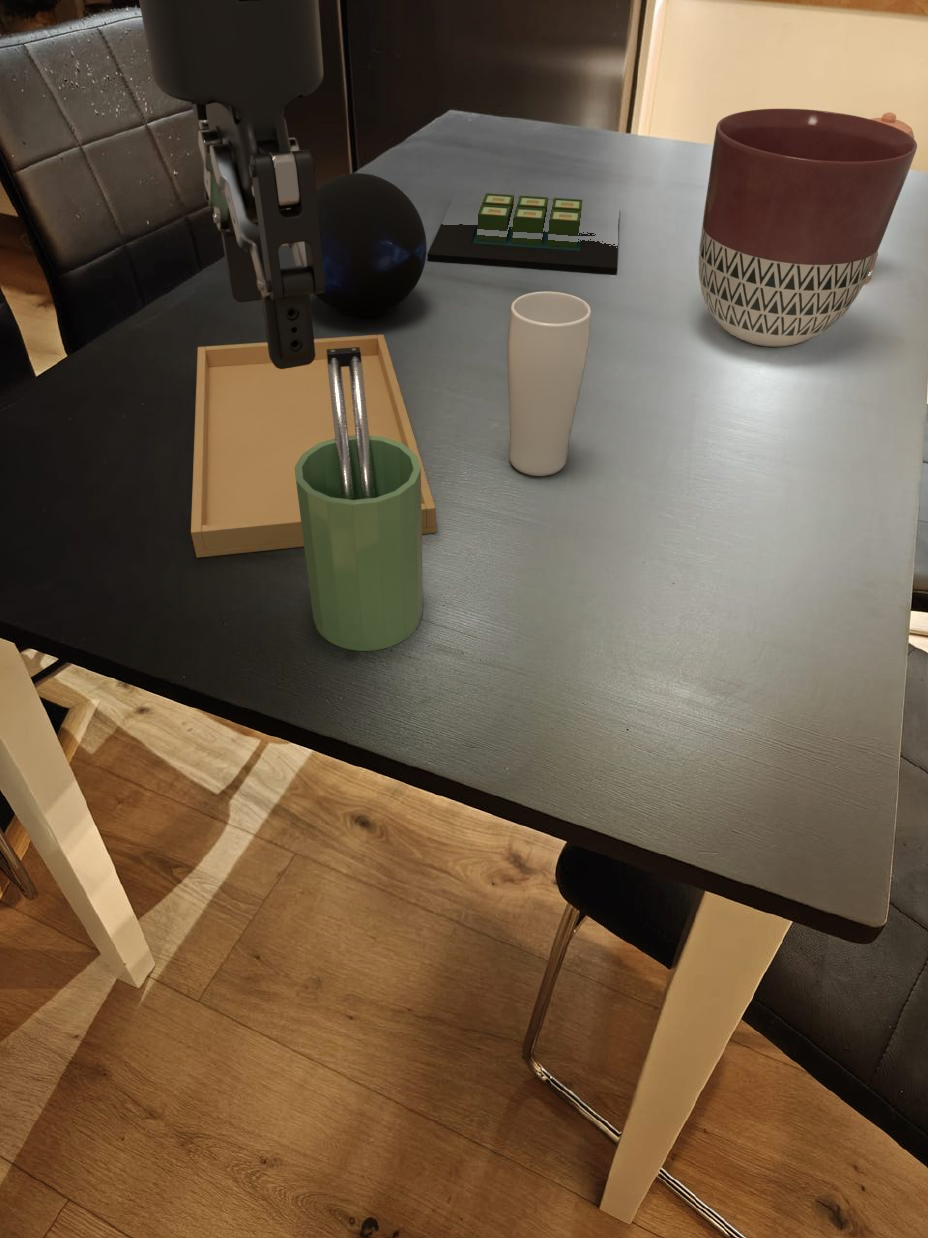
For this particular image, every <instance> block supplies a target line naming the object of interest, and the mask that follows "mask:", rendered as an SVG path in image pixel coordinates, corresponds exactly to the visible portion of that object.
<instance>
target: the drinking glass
mask: <svg viewBox="0 0 928 1238" xmlns="http://www.w3.org/2000/svg"><path fill="white" fill-rule="evenodd" d="M509 311H510V313H509V321H508V330H507V331H508V332H507V382H508V383H507V385H508V387H507V388H508V412H509V413H508V414H509V415H508V417H509V452H508V457H509V462H510V464H511V465H512V467H513V468H514V469H516V470H517V471H518V472H520V473H522V474H524V475H528V476H532V477H546V476H551V475H554V474H557V473H558V472H560V471H561V470H562V469H563V468H564V467H565V465H566V463H567V459H568V451H569V444H570V439H571V434H572V430H573V424H574V418H575V415H576V410H577V405H578V402H579V401H578V400H579V396H580V391H581V388H582V387H581V386H582V382H583V376H584V373H585V369H586V362H587V356H588V349H589V342H590V331H591V321H592V320H591V318H592V308H591V307H590V304H589V303H587V302H586V301H585V300H583V299H582V298H580V297H578V296H576V295H572V294H569V293H566V292H565V293H564V292H559V291H533V292H529V293H525V294H523V295H521V296H519V297H517V298H515V299H514V300H513V302H512V303H511V305H510V310H509Z"/></svg>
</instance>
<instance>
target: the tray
mask: <svg viewBox="0 0 928 1238" xmlns="http://www.w3.org/2000/svg"><path fill="white" fill-rule="evenodd" d="M314 346H315V359H314V361H313V362H312V363H310V364H308V365H304V366H298V367H292V368H286V369H278V368H276V367H275V366H274V364H273V363H272V361H271V359H270V357H269V351H268V343H267V341H265V342H252V343H236V344H224V345H223V344H222V345H209V346H208V345H207V346H198V347H197V359H196V384H195V385H196V386H195V388H196V389H195V411H194V412H195V413H194V439H193V465H192V467H193V469H192V491H191V493H192V494H191V518H190V519H191V520H190V522H191V523H190V535H191V540H192V542H193V548H194V552H195V557H196V558H207V557H216V556H217V557H218V556H227V555H236V554H237V555H238V554H246V553H257V552H267V551H275V550H283V549H284V550H285V549H293V548H304V541H303V533H302V525H301V517H300V509H299V501H298V493H297V485H296V477H295V465H296V464H297V462H298V460H299V459H300V457H301V456H302V454H303V453H304V452H306V451H308V450H309V449H311V448H312V447H314V446H315V445H317V444H319V443H321V442H324V441H327V440H331V439H334V438H335V431H334V422H333V412H332V403H331V394H330V385H329V375H328V366H327V349H339V348H353V347H359V348H360V352H361V359H362V369H363V379H364V390H365V400H366V410H367V421H368V431H369V435H370V436H378V437H385V438H388V439H391V440H393V441H396V442H399V443H401V444H404V445H405V446H406V447H408V448H409V449H410V450H411V451H412V452H413V453H414V454H416V455H417V457H418V461H419V464H420V467H421V510H422V535H429V534H436V532H437V531H436V529H437V528H436V526H437V525H436V523H437V521H436V518H437V517H436V514H437V512H436V505H435V501H434V499H433V495H432V492H431V489H430V484H429V482H428V479H427V475H426V472H425V468H424V464H423V462H422V457H421V455H420V451H419V448H418V444H417V442H416V438H415V435H414V431H413V428H412V425H411V421H410V418H409V415H408V411H407V408H406V404H405V401H404V398H403V395H402V390H401V388H400V385H399V381H398V378H397V374H396V371H395V368H394V364H393V362H392V358H391V355H390V351H389V348H388V345H387V341H386V338H385V334H370V335H368V334H367V335H354V336H352V335H351V336H340V337H339V336H338V337H327V338H325V337H324V338H323V337H322V338H314ZM341 370H342V379H343V389H344V399H345V408H346V418H347V428H348V436H353V435H356V434H355V424H354V414H353V404H352V394H351V384H350V374H349V366H347V367H341Z"/></svg>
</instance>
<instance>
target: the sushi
mask: <svg viewBox="0 0 928 1238" xmlns="http://www.w3.org/2000/svg"><path fill="white" fill-rule="evenodd" d="M484 195H485V197H484V199H483V202H482V205H481V207H480V210H479V213H478V225H463V224H459V225H443V224H441V223H440V225H439V227H438V229H437V232H436V234H435V236H434V238H433V240H432V243H431V245H430V248H429V250H427V253H426V258H427V259H426V260H427V261H428V262H439V263H452V264H466V265H477V266H478V265H479V266H480V265H481V266H493V267H506V268H520V269H534V270H535V269H536V270H547V271H561V272H575V273H588V274H601V275H614V276H615V275H616V276H617V272H618V263H619V262H618V261H619V245H618V246H613V245H615V244H613V245H611V244H606V243H604V244H602V243H600V242H599V241H597V242H595V241H589V240H588V241H585V240H582V241H581V240H580V242H579V241H578V242H569V241H555V240H548V234H556V235H568V236H595V235H596V234H595V235H592V234H594V233H588V232H587V233H588V234H590V235H588V234H582V233H579V226H580V218H581V210H582V202H583V199H578V198H565V197H564V198H562V197H553V199H552V200H553V205H552V210H551V214H550V220H549V231H548V232H545V231H544V232H543V228H544V223H545V217H546V212H547V206H548V200H549V197H548V196H535V195H519V197H518V198H519V200H518V203H517V207H516V210H515V214H514V218H513V227H509V230H508V234H507V237H499V236H485V235H477V229H484V230H499V231H507V229H508V225H509V221H510V217H511V213H512V209H513V206H514V197H515V194H503V193H491V192H490V193H488V192H486V193H485V194H484ZM511 228H512V229H511ZM513 232H527V233H541V234H542V233H543V237H542V240H541V239H527V238H513V237H512V236H513ZM578 233H579V235H578ZM583 233H584V232H583ZM580 234H581V235H580ZM578 240H579V239H578ZM590 240H591V239H590ZM602 242H603V241H602ZM609 245H611V246H609ZM616 247H617V248H616Z"/></svg>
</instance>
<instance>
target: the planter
mask: <svg viewBox="0 0 928 1238" xmlns="http://www.w3.org/2000/svg"><path fill="white" fill-rule="evenodd" d="M871 119H872V118H866V117H862V116H857V115H853V114H849V113H847V114H846V113H841V112H834V111H827V110H818V109H807V108H806V109H804V108H761V109H752V110H751V109H750V110H744V111H739V112H735V113H732V114H729V115H726V116H724V117H723V118H721V119H720V120H719V121H718V122H717V124H716V127H715V133H714V139H713V145H712V151H711V158H710V159H711V160H710V167H709V177H708V181H707V182H708V183H707V189H706V195H705V203H704V209H703V218H702V226H701V234H700V241H699V250H698V279H699V287H700V292H701V296H702V298H703V301H704V303H705V305H706V308H707V309H708V311H709V312H710V314H711V316H712V317H713V318H714V319H715V320H716V322H717V323H718V324H719V325H720V326H721V327H722V328H723V329H724V330H725V331H726V332H728V333H729V334H730V335H732V336H733V335H734V336H733V337H735V336H736V337H735V338H737V339H739V338H740V339H739V340H741V339H742V340H741V341H743V342H746V343H749V344H753V345H757V346H762V347H774V348H775V347H776V348H777V347H779V348H780V347H788V346H793V345H796V344H800V343H804V342H806V341H808V340H811V339H812V338H815V337H817V336H818V335H820V334H822V333H823V332H825V331H826V330H828V329H830V328H831V327H832V326H833V325H835V324H836V323H837V322H838V321H839V320H840V319H841V318H842V317H843V316H844V315H845V314H846V313H847V311H848V310H849V309H850V307H851V306H852V304H854V302H855V300H856V299H857V297H858V295H859V294H860V292H861V290H862V289H863V286H864V285H865V284H866V283H865V281H866V279H867V276H868V274H869V272H870V269H871V267H872V264H873V262H874V259H875V257H876V254H877V251H879V249H880V246H881V244H882V241H883V239H884V236H885V234H886V231H887V229H888V226H889V223H890V221H891V218H892V215H893V212H894V210H895V207H896V204H897V202H898V199H899V197H900V195H901V192H902V190H903V187H904V184H905V183H906V179H907V177H908V174H909V171H910V169H911V166H912V163H913V160H914V158H915V155H916V152H917V150H918V143H917V141H916V140H915V137H914V138H912V137H911V136H910V135H909V134H907V133H906V132H904V131H902V130H900V129H898V128H895V127H893V126H890V125H888V124H885V123H881V122H878V121H875V120H871ZM864 283H865V284H864ZM744 340H745V341H744ZM747 341H748V342H747ZM750 342H751V343H750ZM754 343H755V344H754ZM759 344H760V345H759Z"/></svg>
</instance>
